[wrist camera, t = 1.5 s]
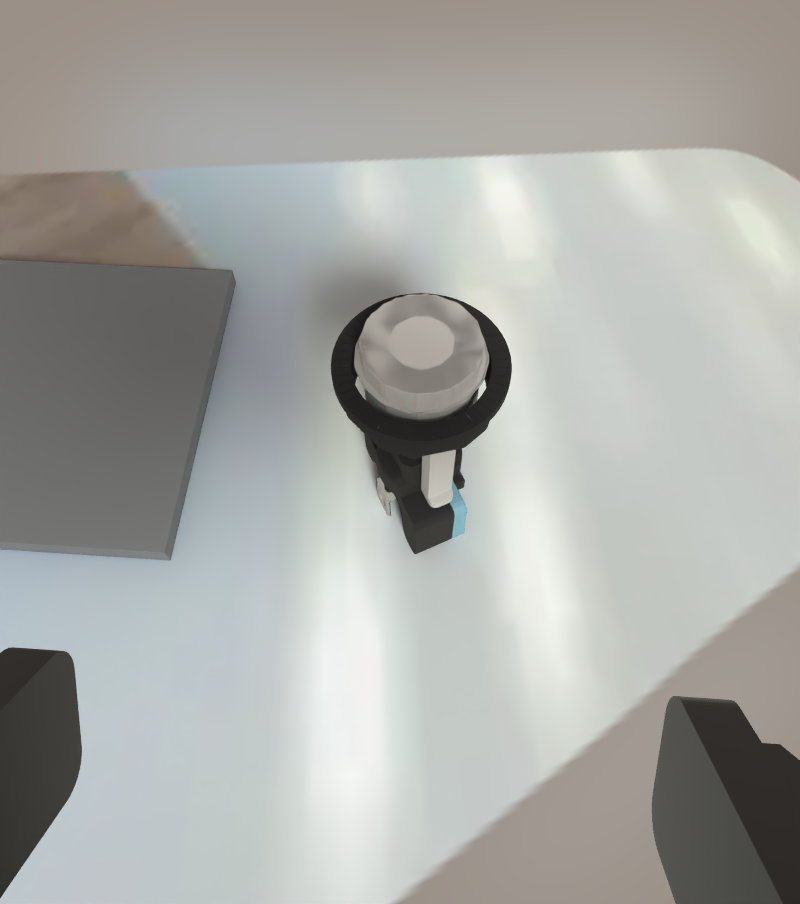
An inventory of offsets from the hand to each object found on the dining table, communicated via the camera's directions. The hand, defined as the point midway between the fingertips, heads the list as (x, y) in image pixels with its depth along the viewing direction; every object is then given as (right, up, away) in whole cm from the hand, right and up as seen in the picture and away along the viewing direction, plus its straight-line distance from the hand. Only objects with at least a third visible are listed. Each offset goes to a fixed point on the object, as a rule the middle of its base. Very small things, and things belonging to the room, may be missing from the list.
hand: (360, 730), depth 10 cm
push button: (+1, +2, +20) cm, 21 cm away
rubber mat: (-16, +6, +22) cm, 28 cm away
